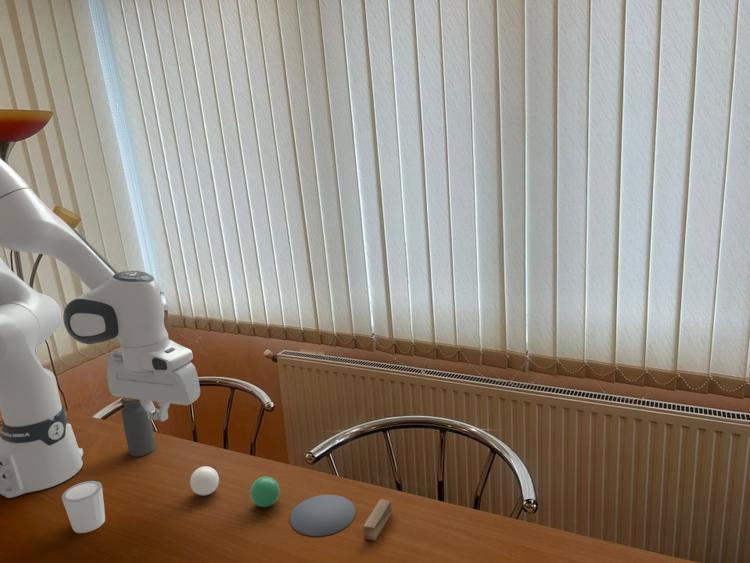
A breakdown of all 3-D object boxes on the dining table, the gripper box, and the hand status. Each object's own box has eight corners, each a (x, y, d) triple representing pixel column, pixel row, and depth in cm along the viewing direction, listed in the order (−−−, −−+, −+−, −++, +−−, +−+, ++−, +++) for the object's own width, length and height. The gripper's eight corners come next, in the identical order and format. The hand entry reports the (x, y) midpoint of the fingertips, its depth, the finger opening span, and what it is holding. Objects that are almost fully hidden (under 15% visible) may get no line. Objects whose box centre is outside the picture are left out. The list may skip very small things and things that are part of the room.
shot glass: (93, 536, 111) (86, 502, 109) (60, 534, 112) (52, 500, 110) (116, 513, 117) (109, 481, 115) (85, 511, 119) (78, 479, 117)
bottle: (145, 457, 137) (133, 396, 133) (123, 455, 139) (111, 395, 135) (161, 444, 142) (150, 385, 139) (140, 442, 144) (129, 384, 141)
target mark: (277, 529, 108) (277, 528, 108) (309, 491, 119) (309, 490, 119) (338, 541, 104) (338, 540, 104) (365, 501, 115) (365, 500, 114)
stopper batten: (364, 538, 104) (363, 525, 103) (381, 511, 111) (380, 499, 111) (375, 540, 103) (374, 528, 103) (391, 512, 110) (390, 500, 110)
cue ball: (186, 498, 120) (182, 473, 119) (203, 483, 125) (200, 459, 124) (209, 503, 118) (205, 477, 117) (226, 487, 123) (222, 463, 121)
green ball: (246, 510, 115) (242, 484, 113) (262, 494, 120) (258, 469, 118) (271, 515, 113) (267, 489, 111) (286, 498, 117) (283, 473, 116)
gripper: (93, 355, 119) (106, 420, 122) (177, 363, 111) (188, 432, 114) (118, 344, 125) (129, 406, 128) (199, 351, 117) (209, 417, 120)
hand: (158, 419), depth 121 cm, fingers closed
